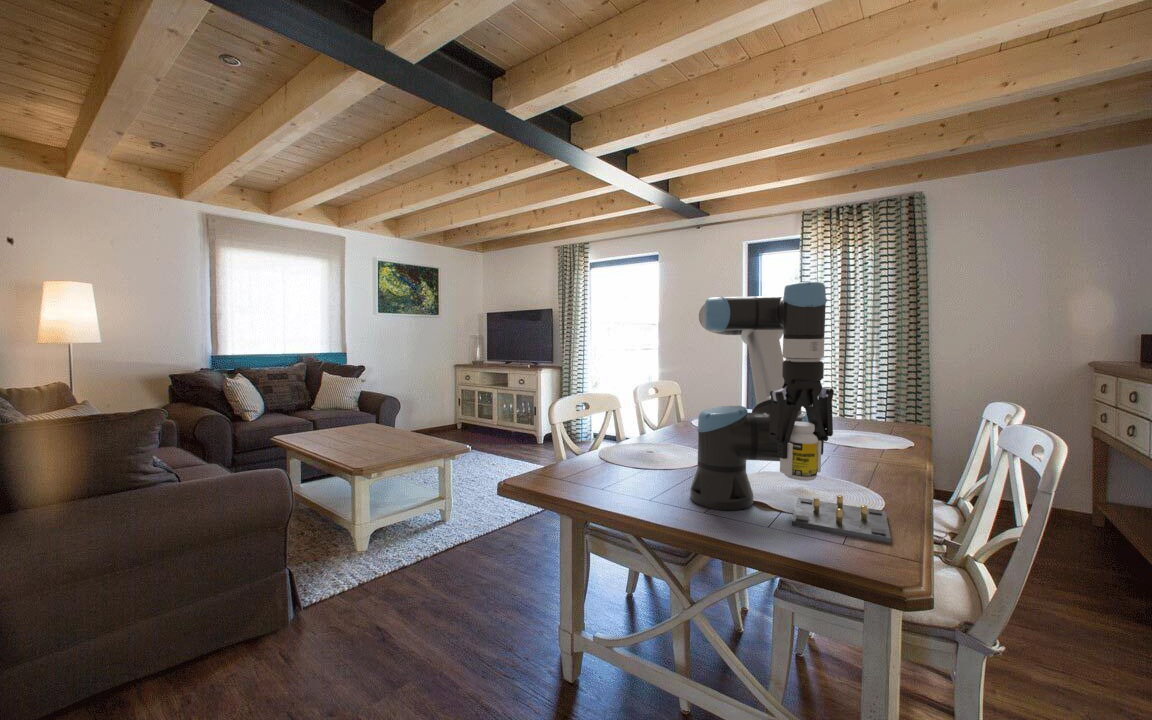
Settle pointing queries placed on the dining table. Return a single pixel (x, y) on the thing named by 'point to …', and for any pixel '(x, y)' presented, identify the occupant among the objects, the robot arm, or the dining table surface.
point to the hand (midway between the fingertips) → (800, 471)
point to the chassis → (841, 519)
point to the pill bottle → (804, 451)
